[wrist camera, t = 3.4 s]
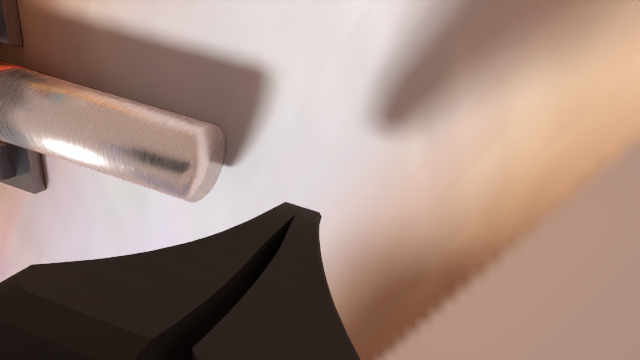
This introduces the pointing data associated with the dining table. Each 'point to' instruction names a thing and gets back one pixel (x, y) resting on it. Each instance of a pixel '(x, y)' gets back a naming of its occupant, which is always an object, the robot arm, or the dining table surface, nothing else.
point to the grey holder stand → (8, 158)
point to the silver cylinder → (110, 133)
